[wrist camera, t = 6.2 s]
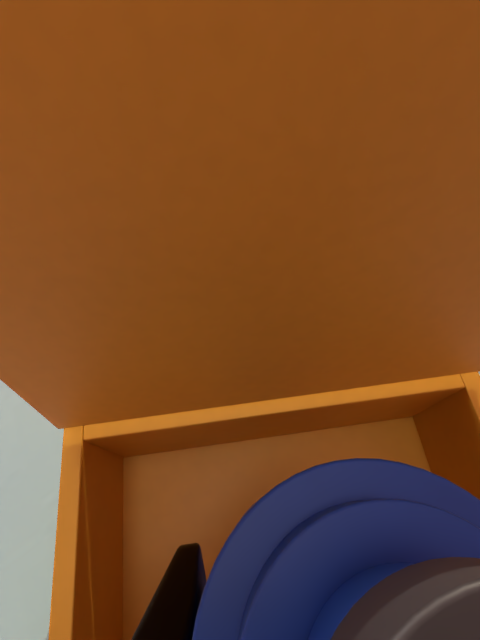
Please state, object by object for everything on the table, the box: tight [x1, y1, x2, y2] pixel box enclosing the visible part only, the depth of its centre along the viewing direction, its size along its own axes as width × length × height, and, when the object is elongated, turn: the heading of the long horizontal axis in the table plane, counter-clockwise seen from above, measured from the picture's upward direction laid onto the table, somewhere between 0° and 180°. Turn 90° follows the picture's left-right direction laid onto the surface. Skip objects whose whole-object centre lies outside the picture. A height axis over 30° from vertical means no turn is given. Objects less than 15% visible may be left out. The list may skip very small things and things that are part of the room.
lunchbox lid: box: [0, 0, 480, 429], centre depth 10 cm, size 12×15×4 cm
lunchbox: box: [49, 371, 480, 640], centre depth 14 cm, size 11×15×6 cm
